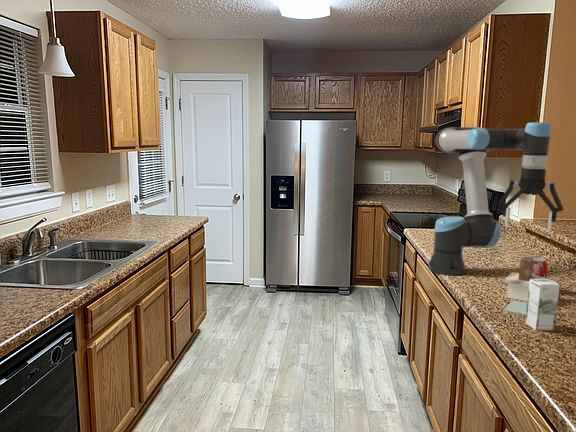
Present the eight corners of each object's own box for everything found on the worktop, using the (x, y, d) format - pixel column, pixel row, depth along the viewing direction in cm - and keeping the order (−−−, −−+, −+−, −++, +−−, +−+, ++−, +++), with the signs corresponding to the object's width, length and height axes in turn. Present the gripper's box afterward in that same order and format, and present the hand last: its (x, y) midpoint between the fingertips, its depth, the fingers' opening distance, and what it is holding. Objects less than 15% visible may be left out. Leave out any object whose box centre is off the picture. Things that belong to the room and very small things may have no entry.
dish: (506, 297, 160) (508, 281, 159) (513, 291, 166) (514, 276, 166) (534, 303, 154) (536, 287, 153) (540, 297, 161) (541, 281, 160)
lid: (504, 281, 158) (506, 259, 157) (511, 275, 167) (513, 253, 166) (539, 288, 152) (541, 264, 150) (545, 280, 160) (547, 258, 159)
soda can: (522, 290, 169) (525, 259, 167) (525, 285, 174) (528, 255, 173) (543, 293, 165) (546, 262, 163) (546, 289, 170) (549, 258, 168)
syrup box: (542, 323, 136) (547, 277, 134) (555, 331, 130) (560, 283, 128) (524, 323, 136) (529, 277, 134) (535, 331, 130) (540, 283, 128)
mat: (503, 310, 147) (503, 309, 147) (512, 301, 156) (512, 300, 156) (544, 319, 139) (544, 318, 139) (551, 309, 149) (551, 308, 148)
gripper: (492, 166, 159) (487, 225, 163) (574, 170, 144) (566, 234, 147) (498, 165, 165) (493, 222, 169) (577, 169, 150) (570, 231, 153)
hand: (527, 228), depth 158 cm, fingers open, 13 cm apart
